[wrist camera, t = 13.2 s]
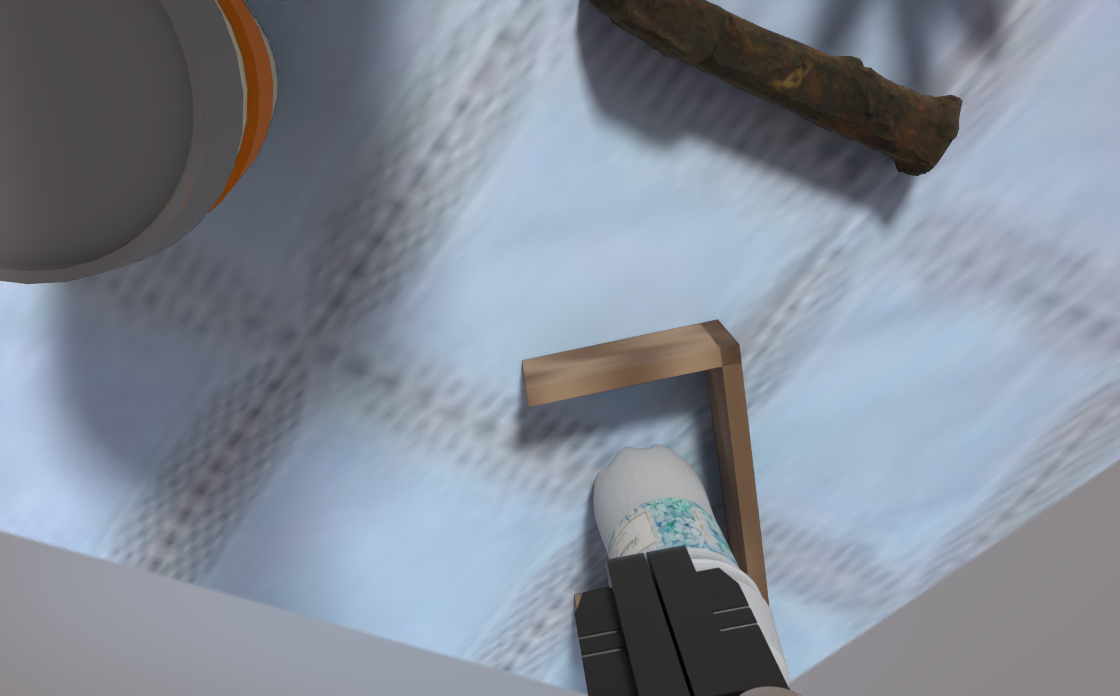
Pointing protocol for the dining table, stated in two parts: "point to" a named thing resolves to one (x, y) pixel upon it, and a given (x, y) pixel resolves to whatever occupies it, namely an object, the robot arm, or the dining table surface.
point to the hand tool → (797, 78)
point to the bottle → (670, 521)
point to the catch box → (667, 359)
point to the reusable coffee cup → (122, 126)
